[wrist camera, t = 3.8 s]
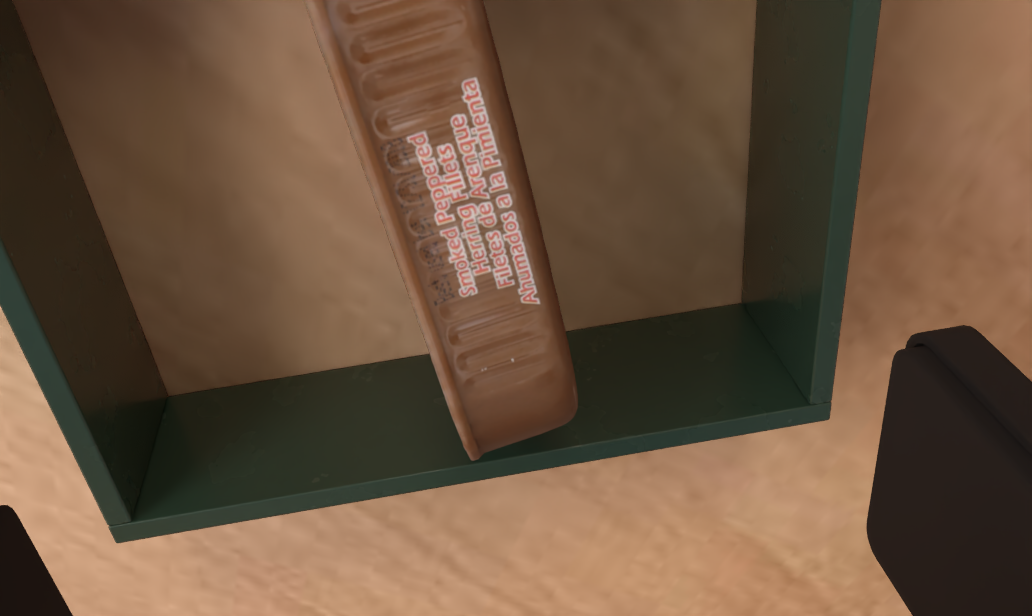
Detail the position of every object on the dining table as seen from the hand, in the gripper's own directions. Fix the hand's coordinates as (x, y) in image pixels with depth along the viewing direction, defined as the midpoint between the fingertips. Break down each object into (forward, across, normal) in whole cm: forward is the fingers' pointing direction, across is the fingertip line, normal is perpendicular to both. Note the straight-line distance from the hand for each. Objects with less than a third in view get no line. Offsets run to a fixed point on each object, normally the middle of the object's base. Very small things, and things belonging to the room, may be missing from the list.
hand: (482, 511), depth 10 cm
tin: (+15, 0, 0) cm, 15 cm away
